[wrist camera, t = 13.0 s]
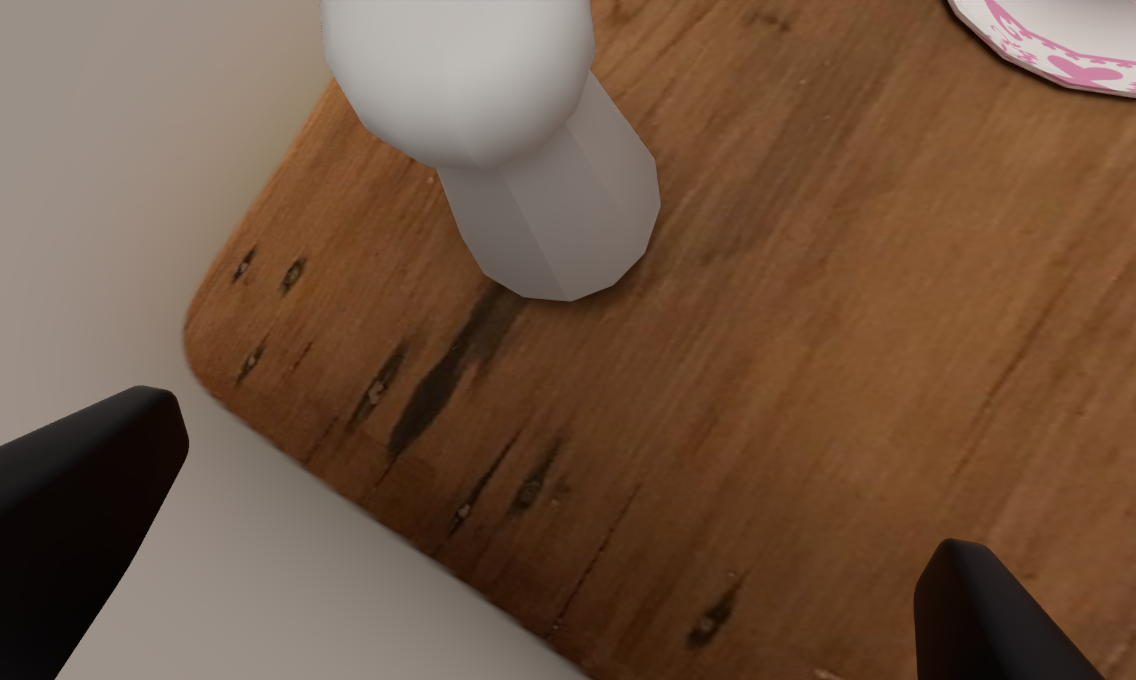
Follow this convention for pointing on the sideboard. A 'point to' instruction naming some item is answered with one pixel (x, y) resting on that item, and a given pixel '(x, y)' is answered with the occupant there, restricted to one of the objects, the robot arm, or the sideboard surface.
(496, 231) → the salt shaker
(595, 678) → the sideboard surface
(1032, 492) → the sideboard surface
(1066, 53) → the teacup
